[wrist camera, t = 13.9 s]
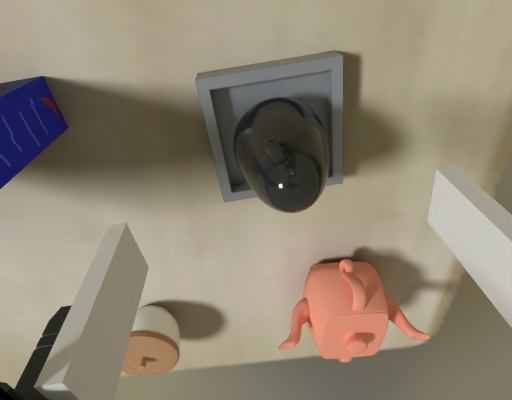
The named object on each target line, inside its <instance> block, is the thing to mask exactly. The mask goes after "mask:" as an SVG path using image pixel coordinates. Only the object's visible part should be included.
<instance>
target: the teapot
mask: <svg viewBox="0 0 512 400" xmlns="http://www.w3.org/2000/svg"><path fill="white" fill-rule="evenodd" d="M389 320H390V321H392V322H393V323H394V324H395V325H396V326H397V327H398V328H399V329H400V330H401V331H402V332H403V333H405V334H406V335H407V336H409V337H411V338H413V339H418V340H427V339H430V336H429V335H427V334H425V333H423V332H421V331H419V330H417V329H416V328H414V327H413V326H412V325H411V324H410V323H409V321H408V320H407V319H406V317H405V315H404V314H403V312H402V311H401V309H400V308H399V306H398V305H397V304H396V302H395V301H393V300H392V299H391V298H390V297H388V296H386V295H385V293H384V289H383V285H382V283H381V280H380V277H379V275H378V273H377V271H376V270H375V269H374V267H372V266H371V265H370V264H369V263H367V262H359V261H353V262H352V261H351V260H349V259H343V260H342V261H341V262H337V263H326V264H320V263H317V264H314V265H313V266H311V268H310V271H309V274H308V277H307V280H306V284H305V288H304V294H303V299H302V300H301V301H299V302H298V303H297V304H296V306H295V308H294V310H293V313H292V320H291V332H290V335H289V337H288V339H287V340H286V341H285V342H283V343H282V344H281V345H279V346H278V349H288V348H291V347H293V346H295V345H296V344H297V343H298V342H299V340H300V337H301V328H302V325H303V324H304V323H305V322H306V324H307V327H308V330H309V332H310V335H311V337H312V339H313V341H314V343H315V345H316V347H317V349H318V350H319V352H320V354H321V356H322V357H323V358H326V359H333V358H338V359H339V361H341V362H349V361H351V360H352V358H353V357H361V356H369V355H374V354H375V353H376V352H377V351H378V350H379V348H380V346H381V344H382V342H383V340H384V337H385V335H386V331H387V327H388V321H389Z"/></svg>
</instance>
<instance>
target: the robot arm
mask: <svg viewBox="0 0 512 400" xmlns="http://www.w3.org/2000/svg"><path fill="white" fill-rule="evenodd" d="M428 222H429V223H430V225H431V226H432V227H433V228H434V230H435V231H436V232H437V234H438V235H439V236H440V237H441V239H442V240H443V241H444V242H445V244H446V245H447V246H448V247H449V249H450V250H451V251H452V253H453V254H454V255H455V256H456V258H457V259H458V260H459V261H460V263H461V264H462V265H463V267H464V268H465V269H466V270H467V272H468V273H469V274H470V275H471V277H472V278H473V279H474V280H475V282H476V283H477V284H478V285H479V287H480V288H481V289H482V291H483V292H484V293H485V294H486V296H487V297H488V298H489V299H490V301H491V302H492V303H493V305H494V306H495V307H496V308H497V309H498V311H499V312H500V313H501V315H502V316H503V317H504V319H505V320H506V321H507V322H508V324H509V325H510V326H511V327H512V215H511V214H510V213H509V212H508V211H507V210H505V209H504V208H503V207H502V206H501V205H500V204H499V203H497V202H496V201H495V200H494V199H493V198H492V197H491V196H489V195H488V194H487V193H486V192H485V191H484V190H482V189H481V188H480V187H479V186H478V185H477V184H476V183H474V182H473V181H472V180H471V179H470V178H469V177H468V176H466V175H465V174H464V173H463V172H462V171H461V170H460V169H458V168H457V167H456V166H453V167H447V168H442V169H437V171H436V176H435V182H434V188H433V193H432V199H431V204H430V210H429V215H428ZM148 268H149V267H148V265H147V263H146V261H145V259H144V257H143V255H142V253H141V251H140V249H139V247H138V245H137V243H136V241H135V239H134V237H133V235H132V233H131V231H130V229H129V227H128V225H127V223H123V224H117V225H111V226H108V229H107V231H106V233H105V235H104V237H103V239H102V242H101V244H100V246H99V248H98V250H97V252H96V254H95V257H94V259H93V261H92V263H91V265H90V267H89V270H88V272H87V274H86V276H85V278H84V280H83V282H82V285H81V287H80V289H79V291H78V293H77V295H76V298H75V300H74V302H73V304H72V305H71V306H65V307H61V308H60V309H59V310H58V311H57V313H56V314H55V315H54V316H53V317H52V318H51V319H50V320H49V322H48V324H47V326H46V328H45V330H44V332H43V334H42V338H40V340H39V342H38V344H37V346H36V350H34V352H33V354H32V356H31V358H30V360H29V362H28V364H27V366H26V368H25V369H24V371H23V373H22V375H21V377H20V379H19V381H18V383H17V385H16V387H15V389H13V388H12V387H11V386H9V385H8V384H7V383H2V382H0V400H113V399H114V396H115V392H116V388H117V384H118V380H119V377H120V373H121V370H122V366H123V362H124V358H125V354H126V351H127V347H128V343H129V339H130V336H131V332H132V328H133V324H134V321H135V317H136V313H137V309H138V306H139V302H140V298H141V294H142V291H143V287H144V283H145V279H146V276H147V272H148Z"/></svg>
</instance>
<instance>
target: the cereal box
mask: <svg viewBox="0 0 512 400" xmlns="http://www.w3.org/2000/svg"><path fill="white" fill-rule="evenodd" d="M66 129H68V127H67V125H66V123H65V121H64V118H63V116H62V114H61V112H60V110H59V108H58V106H57V104H56V102H55V100H54V98H53V96H52V94H51V92H50V90H49V88H48V86H47V84H46V82H45V80H44V78H43V76H40V77H34V78H29V79H23V80H17V81H11V82H6V83H0V189H1V188H2V187H3V186H4V185H5V184H7V183H8V182H9V181H10V180H11V179H12V178H13V177H14V176H15V175H17V174H18V173H19V172H20V171H21V170H22V169H23V168H24V167H25V166H27V165H28V164H29V163H30V162H31V161H32V160H33V159H34V158H35V157H37V156H38V155H39V154H40V153H41V152H42V151H43V150H44V149H45V148H46V147H48V146H49V145H50V144H51V143H52V142H53V141H54V140H55V139H56V138H58V137H59V136H60V135H61V134H62V133H63V132H64V131H65V130H66Z"/></svg>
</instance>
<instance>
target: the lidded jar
mask: <svg viewBox="0 0 512 400" xmlns="http://www.w3.org/2000/svg"><path fill="white" fill-rule="evenodd" d="M179 348H180V331H179V327H178V324H177V322H176V320H175V318H174V317H173V316H172V315H171V314H170V312H169V311H168V310H167V309H165V308H163V307H161V306H157V305H147V306H143V307H141V308H139V309H138V310H137V313H136V317H135V321H134V324H133V328H132V332H131V336H130V339H129V343H128V347H127V351H126V354H125V358H124V362H123V366H122V370H121V371H123V372H126V373H129V374H132V375H138V376H153V375H159V374H162V373H165V372H167V371H169V370H171V369H172V368H173V367H174V366H175V365H176V364H177V363H178V360H179Z"/></svg>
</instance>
